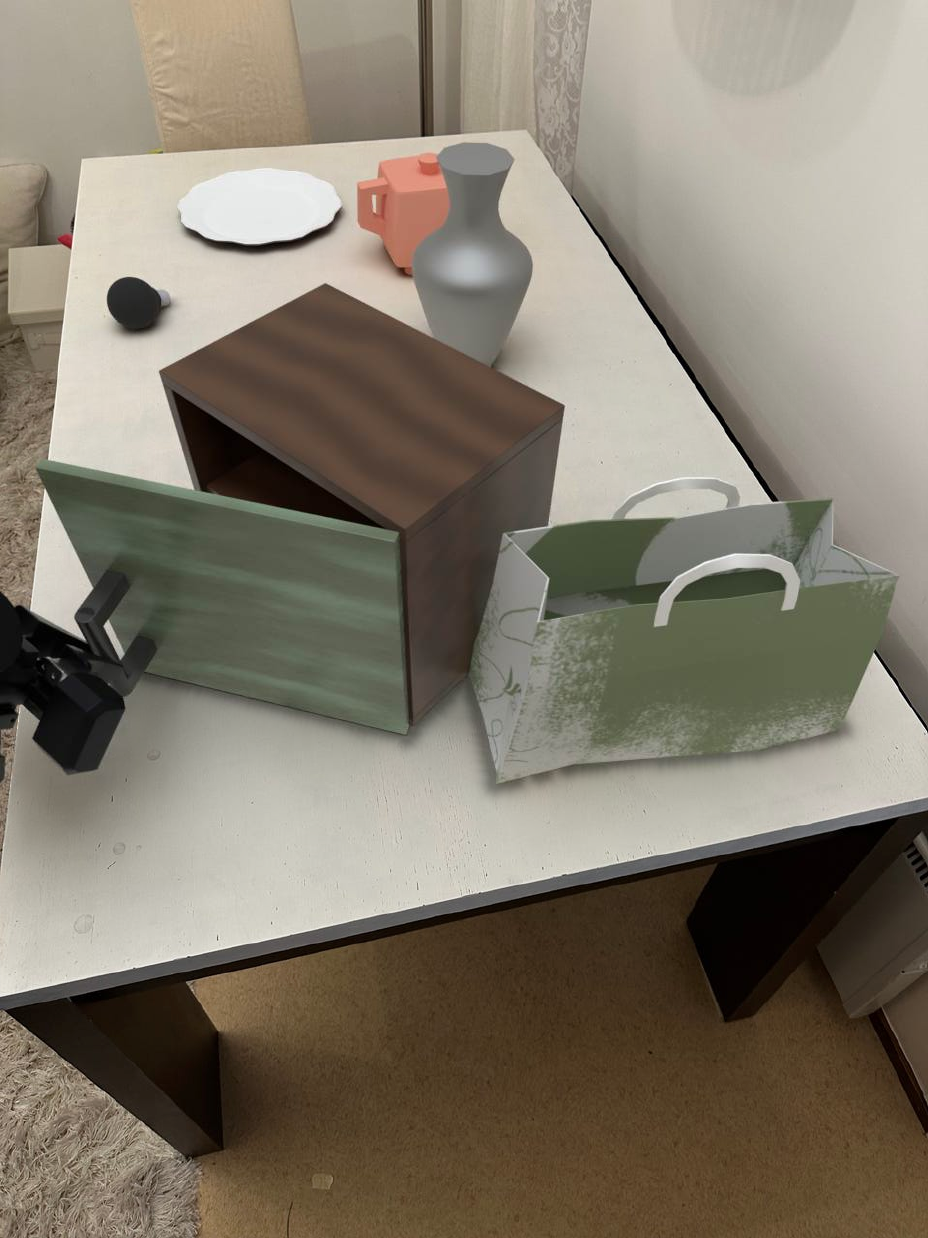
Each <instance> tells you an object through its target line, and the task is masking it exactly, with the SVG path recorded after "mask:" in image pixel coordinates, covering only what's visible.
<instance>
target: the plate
mask: <svg viewBox="0 0 928 1238" xmlns="http://www.w3.org/2000/svg"><path fill="white" fill-rule="evenodd" d="M342 207H343V200H342V199H341V198H340V197H339V196H338V193H337V189H336V187H334V186H333V184H332V183H330V182H329V181H325V180H322V179H319V178H317V177H315V176H314V175H312V174H310V173H307V172H304V171H301V170H299V171H298V170H285V169H280V168H274V167H261V168H254V169H250V170H237V171H236V170H235V171H234V170H233V171H229V172H225V173H222V174H220V175H217V176H216V177H214V178H211V179H208V180H205V181H202V182H198V183H197V184H196V185H194V186H193V187H190V189H189V191H188V192H187V194H186V195H185V196H184V197H183V198H182V199H180V200H179V201H178V204H177V206H176V208H177V210H178V212H179V213H180V223H181V224H182V225H183V226H184V228H186V229H189V230H190V231H193V232H195V233H198V235H200V236H202V237H203V238H204V239H206V240H209V241H213V242H217V243H229V244H236V245H242V246H246V247H247V246H250V247H251V246H253V247H254V246H257V247H258V246H259V247H260V246H264V245H269V244H276V243H285V242H287V243H289V242H294V241H297V240H301V239H303V238H305V237H306V236H308V235H310V234H311V233H313V232H317V231H319V230H323V229H325V228H327V227H328V226H329V225H330V224H332V223H333V222H334V219H335V216H336V214H337V213H338V212H340V210H341V209H342Z"/></svg>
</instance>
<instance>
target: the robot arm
mask: <svg viewBox="0 0 928 1238" xmlns="http://www.w3.org/2000/svg"><path fill="white" fill-rule="evenodd" d="M123 668H124V667H123V666H122V665H121V664H119V663H116V662H114V661H111V660H109V659H106V658H103V657H101V656H98V655H95V654H93V653H92V651H91V649H90V647H89V645H88V644H87V642H86V640H85V639H83V638H81V637H80V636H78V635H76V634H74V633H72V632H70V631H69V630H66V629H65V628H62V627H61V626H59V625H58V624H56V623H54V622H52V621H50V620H49V619H46V618H45V617H43V616H41V615H39V614H38V613H36V612H34V611H33V610H30V609H29V608H28V607H26V606H25V605H22V604H17V605H15V606H14V604H13V603H12V602H11V600H10V599H9V598H8V597H7V596H6V594H4V593H3V592H2V591H0V751H1V749H2V747H1V744H2V730H3V731H4V730H10V729H14V726H15V724H16V723H17V719H18V717H19V713H18V712H17V711H16V710H17V707H18V706H21V705H22V706H23V707H24V708H25V709H26V710H27V711H28V712H29V713H30V714H31V715H33V717H35V719H37V720H38V724H37V726H36V728H35V730H34V733H33V735H32V737H31V739H32V741H33V742H34V743H35V745H36V746H37V747H38V749H40V750H41V751H42V752H43V753H44V755H46V756H47V757H48V759H50V760H51V761H52V762H53V763H54V764H55V765H56V766H57V767H58V768H59V769H60V770H61V771H62V772H63V773H64V774H65V775H66V776H72V775H77V774H83V773H87V772H88V773H89V772H94V771H97V770H99V767H100V765H101V763H102V761H103V758H104V756H105V754H106V752H107V750H108V747H109V745H110V743H111V741H112V739H113V737H114V736H115V732H116V730H117V728H118V727H119V725H120V721H121V720H122V717H123V716H124V713H125V711H126V704H125V697H122V696H121V695H120V694H119V693H118V692H117V691H115V690H114V689H113V688H112V687H111V686H110V685H109V683H110V682H112V681H114V680H116V679H118V678H119V677H120V675H121V673H122V671H123ZM5 776H6V756H5V755H3V753H1V752H0V784H2V782H3V781H4V779H5Z"/></svg>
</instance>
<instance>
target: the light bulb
mask: <svg viewBox="0 0 928 1238" xmlns="http://www.w3.org/2000/svg"><path fill="white" fill-rule="evenodd" d="M171 300H172V299H171V294H170V293H169V291H167V290H166V289H155V288H154V287H153V286H151V284H149V283H148V282H147V281H145V280H143V279H141V278H139V277H135V276H124V277H121V278H118V279H116V280H115V281H114V282H113V283H112V284H110V287H108V291H107V294H106V306H107V309H108V312H109V313H110V315H111V317H112V318H113V319H114V320H115V321H116V322H117V323H119V324H120V325H122V326H123V327H125V328H129V329H134V330H138V329H139V330H140V329H145V328H146V327H149V326H150V325H151V324H153V322H154V321H155V320H156V318H157V317H158V314H159V311H160V310H161V308H163V307H167V306H169V305H170V304H171Z"/></svg>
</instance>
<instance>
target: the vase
mask: <svg viewBox="0 0 928 1238" xmlns="http://www.w3.org/2000/svg"><path fill="white" fill-rule="evenodd" d="M438 154H439V155H438V156H437V157H436V158H437V161H438V163H439V166H440V168H441V171H442V174H443V177H444V180H445V183H446V187H447V190H448V195H449V212H448V215H447V218H446V220H445V222H444V224H443V225H442V226H441V227H440V228H438V229H437V230H435V231H433V232H432V233H430V234H429V235H428V236H426V237H425V238H424V239H423V240H422V241H421V242H420V243H419V244H418V246H417V248H416V249H415V251H414V253H413V257H412V274H413V275H412V279H413V282H414V286H415V289H416V292H417V295H418V299H419V301H420V305H421V307H422V310H423V313H424V316H425V319H426V322H427V324H428V327H429V330H430V332H431V334H432V338H434V339H436V340H438V341H440V342H442V343H444V344H446V345H448V346H450V347H452V348H454V349H456V350H458V351H460V352H462V353H464V354H466V355H467V356H469V357H471V358H473V359H475V360H477V361H479V362H481V363H483V364H485V365H487V366H489V367H491V368H492V367H493V364H494V362H495V361H496V359H497V357H498V356H499V354H500V352H501V350H502V349H503V347H504V345H505V343H506V341H507V339H508V337H509V335H510V333H511V331H512V329H513V326H514V324H515V321H516V320H517V317H518V314H519V312H520V310H521V308H522V304H523V302H524V299H525V297H526V294H527V291H528V289H529V286H530V284H531V280H532V277H533V271H534V262H533V258H532V255H531V252H530V250H529V249H528V247H527V246H526V245H525V243H523V241H522V240H521V239H520V238H519V237H518V236H516V235H515V234H513V232H511V231H509V230H508V229H506V228H505V226H504V224H503V222H502V219H501V216H500V211H499V208H500V207H499V206H500V200H501V199H500V198H501V196H502V192H503V188H504V186H505V183H506V180H507V178H508V176H509V173H510V171H511V169H512V167H513V164H514V163H515V158H514V156H513V155H512V154H511V152H509V150H508V149H507V148H504V147H501V146H498V145H495V144H491V143H488V142H469V141H468V142H467V141H466V142H459V143H456V144H453V145H452V144H451V145H448V146H446V147H443V148H442V150H441V151H440V152H439V153H438Z"/></svg>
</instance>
